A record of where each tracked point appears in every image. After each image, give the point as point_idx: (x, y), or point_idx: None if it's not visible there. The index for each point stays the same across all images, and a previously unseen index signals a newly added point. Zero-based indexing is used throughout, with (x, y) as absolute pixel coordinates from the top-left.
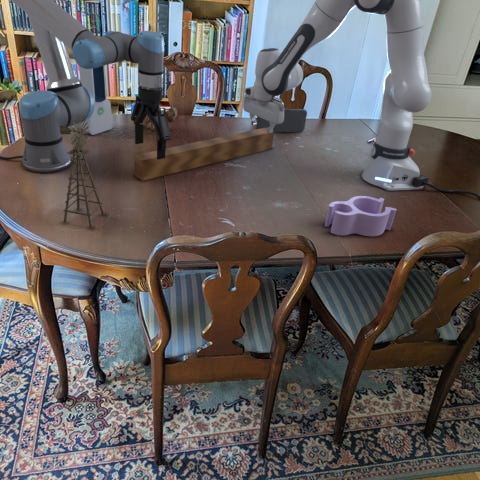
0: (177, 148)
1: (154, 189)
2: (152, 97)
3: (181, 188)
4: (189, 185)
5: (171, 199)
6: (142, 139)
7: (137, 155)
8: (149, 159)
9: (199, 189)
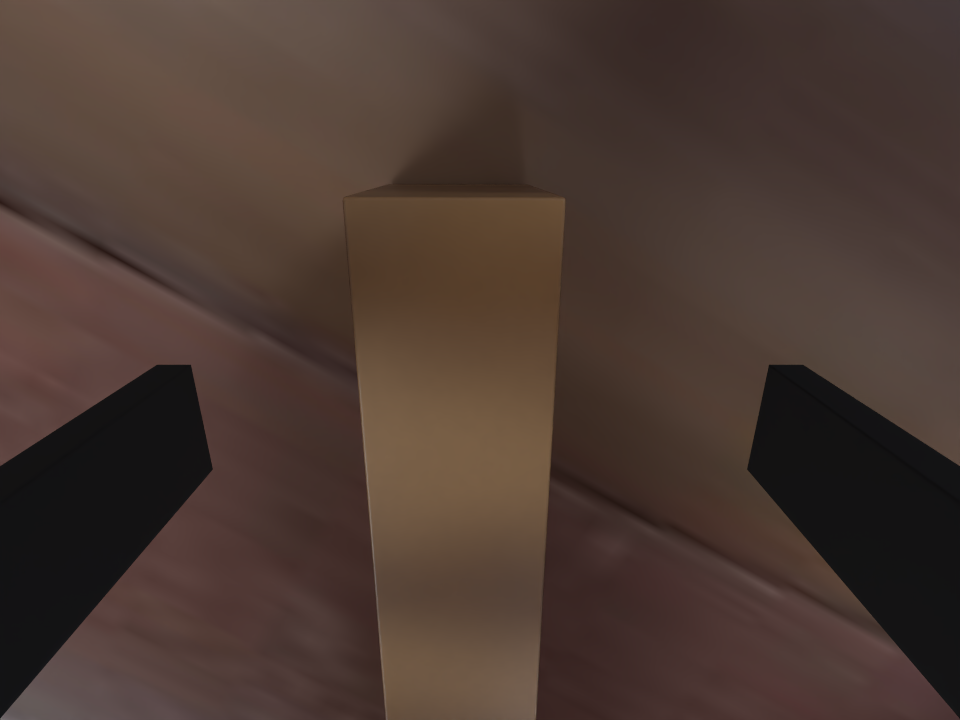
0: (477, 704)
1: (190, 193)
2: None
3: None
4: None
5: None
6: (779, 492)
7: (530, 235)
8: (353, 316)
9: None
